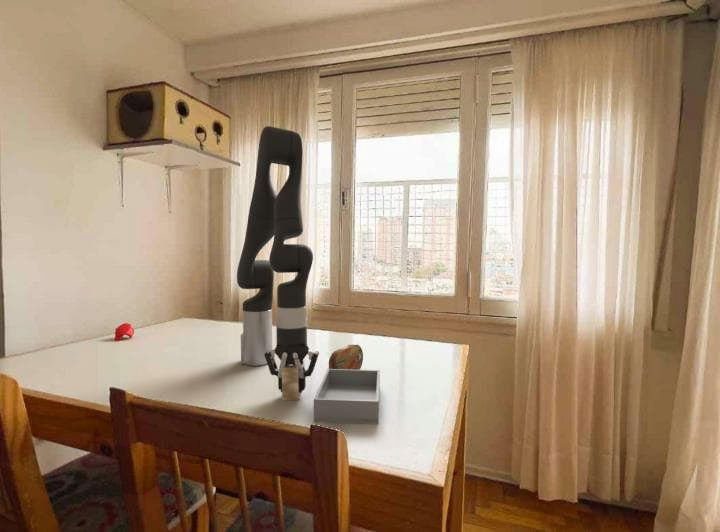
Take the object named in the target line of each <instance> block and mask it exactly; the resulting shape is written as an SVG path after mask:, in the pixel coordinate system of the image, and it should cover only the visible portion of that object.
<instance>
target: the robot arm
mask: <svg viewBox="0 0 720 532" xmlns="http://www.w3.org/2000/svg"><path fill="white" fill-rule="evenodd" d="M272 164H274V165H280V166H281V165H282V166H287V167H288V169H289V171H288V177H287V179H286V181H285V183H284V184H283V186H282V188H281V189H280V190H279V191H278V193H277V191H276V189H275V185H274V183H273V180H272V178H271V177H272V176H271V165H272ZM303 165H304V141H303V137H302V136H301V134H300V133H299V132H296V131H294V130H289V129H285V128H280V127H275V126H271V125H270V126H269V125H267V126H265V127H264V128H263V129H262V131H261V133H260V137H259V141H258V150H257V160H256V169H255V178H254V184H253V190H252V196H251V199H250V205H249V210H248V215H247V224H246V228H245V229H246V231H245V237H244V243H243V246H242V250H241V254H240V258H239V262H238V265H237V269H236V270H237V272H236V282H237V285H238V287H239V288H240V289H243V290H256V289H259V291H258V292H257V293H256V294H255V295H254V296H251V297H250V298H247V299H246V300H244V301H243V302H242V333H241V334H240V364H242V365H246V366H253V367H257V366H264V365H265V366H266V365H267V368H268V370H269V373H270V374H271V376H276V377H277V380H278V381H277V383H278V387H277V388H278V390H279V391H280V393H282V368H284V367H285V366H286V365H290V364H292V365H296V368H298V370H299V377H300V378H299V393H303V391H305V389H306V387H307V386H306V378H307V377H311V376H312V374H313V373H314V369H315V366H316V364H317V361H318V357H319V355H320V352H319V351H318V350H316V351H315V350H314V351H313V350H311V349H309V346H308V313H307V307H306V306H307V304H306V303H307V295H306V294H307V284H308V280H309V276H310V272H311V268H312V267H313V261H314V254H313V251H312V249H311V247H310V246H309V245H308V244H305V243H302V244H301V243H300V244H299V243H298V244H297V243H295V244H292V243H289V244H288V243H285V241H287V240H289V239H290V240H291V239H294V238H298V237H300V236H301V235H302V234H303V232H304V224H303V222H304V221H303V213H302V212H303V211H302V184H303V168H304V166H303ZM271 239H273V241H272V246H271V250H270V253H269V259H267V260H266V259H258V260H257V256H258V254H259V253H260V252H261V250H262V249H263V248H264V247H265V246H266V245H267V244H268V243H269V242H270V241H271ZM274 273H279V274H280V273H282V274H283V273H284V274H286V273H296V275H295V277H294V278H293V279H291V280H288V281H285V282H282V283H279V284H278V286H277V290H276V298H277V299H276V301H277V302H276V305H277V309H276V315H275V316H276V320H275V321H276V330H275V331H276V332H275V333H276V344H275V345H276V346H275V348H274V349H273V299H274V279H275V278H274V277H275V274H274ZM276 356H277V357H278V359H279V360H280V364H279V366H278V365H277V363H276V359H275V358H276ZM307 356H308V360H310V362H309V365H308V367H307V369H306V367H305V361H304V359H305V358H306V357H307ZM278 367H279V368H278Z"/></svg>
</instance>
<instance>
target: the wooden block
mask: <svg viewBox="0 0 720 532" xmlns="http://www.w3.org/2000/svg"><path fill="white" fill-rule="evenodd" d="M299 378H300V377H299V370H298V368H296V365H292V364H290V365H286V366H285V367H284V368H282V392H281V400H282V401H299V399H300V398H301V396H302V393H303V392H302V393H299ZM299 397H300V398H299Z"/></svg>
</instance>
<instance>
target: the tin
mask: <svg viewBox="0 0 720 532" xmlns="http://www.w3.org/2000/svg"><path fill="white" fill-rule="evenodd" d="M363 361H364V353H363V348H362V347H361V346H360V345H359V344H348V345H345V346H343V347H340V348H339V349H336V350H335V351H333V352H332V353H331V355H330V357H329V359H328V369H348V370H361V367H362V366H363V363H364V362H363Z"/></svg>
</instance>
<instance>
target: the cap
mask: <svg viewBox="0 0 720 532" xmlns="http://www.w3.org/2000/svg"><path fill="white" fill-rule="evenodd" d="M114 330H115V331H114V341H115V342H118V341H120V340H121V339H122V338H123V337H124V336H127V337H129V339H132V338H133V335H134V333H135V329H134V328H133V326H132V324H130V323H128V322H125V323H122V324H120V325H119V326H117V327H116V328H115V329H114Z"/></svg>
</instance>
